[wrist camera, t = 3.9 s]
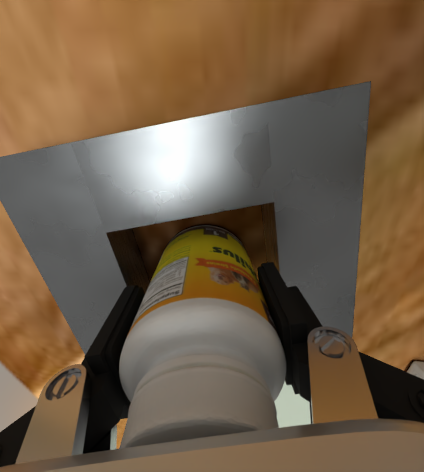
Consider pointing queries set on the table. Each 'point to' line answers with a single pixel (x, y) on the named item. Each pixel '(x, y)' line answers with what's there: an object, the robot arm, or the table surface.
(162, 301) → the supplement bottle
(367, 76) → the table surface
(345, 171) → the socket block
